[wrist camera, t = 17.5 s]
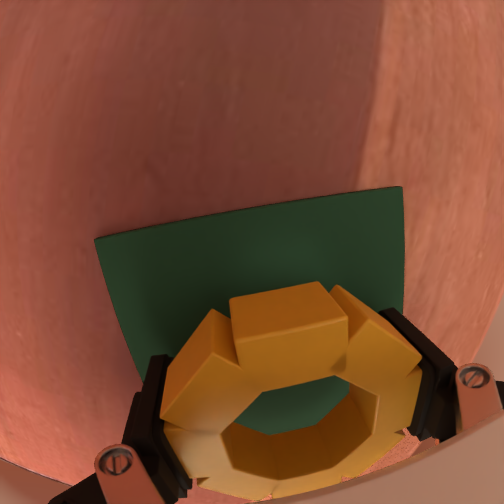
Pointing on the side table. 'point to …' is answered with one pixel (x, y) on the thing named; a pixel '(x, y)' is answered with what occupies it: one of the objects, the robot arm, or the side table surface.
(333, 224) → the mat
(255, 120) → the side table surface
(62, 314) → the side table surface
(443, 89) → the side table surface
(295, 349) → the top ring
